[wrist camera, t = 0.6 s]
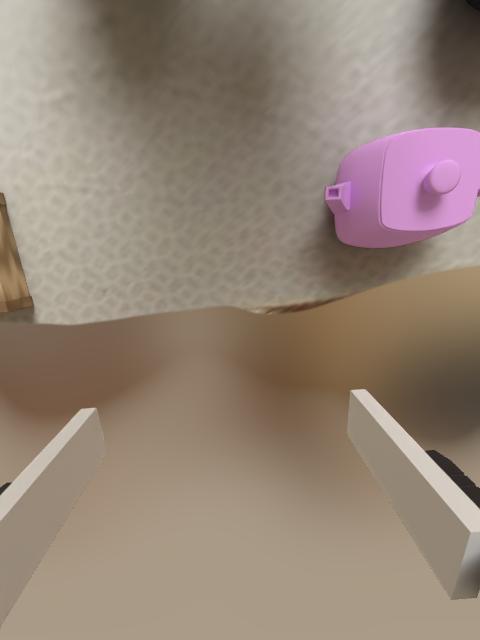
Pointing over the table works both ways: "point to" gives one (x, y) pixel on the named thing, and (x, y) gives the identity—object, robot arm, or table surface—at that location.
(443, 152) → the teapot
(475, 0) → the bowl
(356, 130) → the table surface
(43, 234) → the table surface
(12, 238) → the crate
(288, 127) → the table surface
